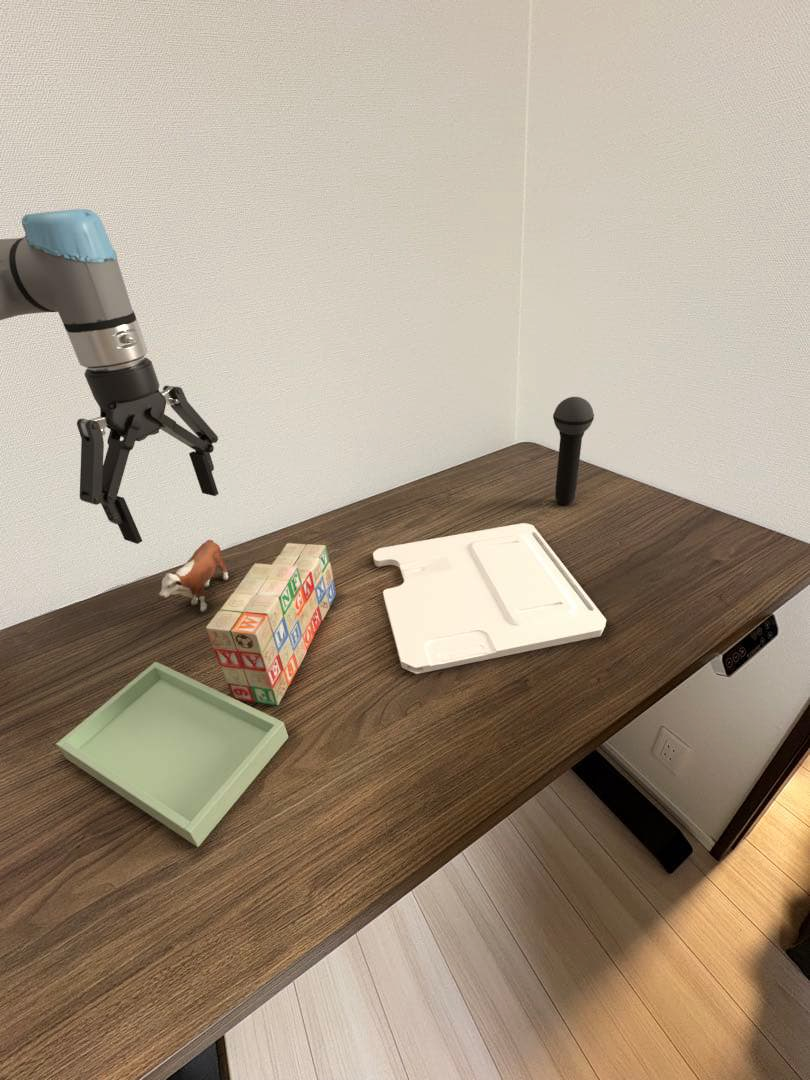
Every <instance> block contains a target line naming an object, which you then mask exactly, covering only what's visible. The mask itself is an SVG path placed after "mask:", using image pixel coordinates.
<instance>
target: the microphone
mask: <svg viewBox="0 0 810 1080" xmlns="http://www.w3.org/2000/svg"><path fill="white" fill-rule="evenodd" d="M552 419H553V423H554V425H555V428H557V430H558V432H559V445H558V456H557V457H558V459H557V468H556V479H555V491H554V493H555V495H554V498H555V499H556V502H557V503H558V504H559V506H569V505H571V503H572V502H573V501H574V500H575V498H576V492H577V485H578V484H577V483H578V475H579V466H580V459H581V450H582V448H581V447H582V444H583V443H582V441H583V437H584V435H585V432H587V430H589V428H591V426H592V423H593V422H594V419H595V414H594V409H593V407H592V405H591V403H590V402H589V401H588V400H587V399H585V398H583V397H581V396H570V397H567V398H565V399H563V400H561V401H560V402H559V403H558V404H557V406H556V407H555V410H554V412H553V414H552Z"/></svg>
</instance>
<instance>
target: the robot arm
mask: <svg viewBox="0 0 810 1080" xmlns="http://www.w3.org/2000/svg"><path fill="white" fill-rule="evenodd" d="M21 225H22V228H23V232H24V234H25V235H24V236H23V237H18V238H17V237H15V238H1V239H0V321H2V320H3V321H4V320H7V319H10V318H13V317H18V316H22V315H31V314H41V313H43V314H44V313H58V315H59V318H60V320H61V322H62V324H63V327H64V329H65V331H66V333H67V336H68V338H69V342H70V343H71V346H72V349H73V352H74V354H75V356H76V358H77V361H78V364H79V365H80V366H81V367H83V368H86V369H85V372H84V377H85V380H86V382H87V384H88V387H89V390H90V391H91V394H92V397H93V399H94V401H95V402H96V404H97V405H98V408H99V411H100V415H99V416H97V417H94V418H93V417H92V418H90V419H87V418H79V419H77V421H76V426H77V429H78V432H79V433H78V434H79V437H80V440H81V441H80V442H81V443H80V444H81V445H80V473H79V500H81V501H82V502H85V503H89V504H91V505H92V504H93V505H96V506H97V505H99V504H100V505H101V507H102V508H103V511H104V513H105V515H106V517H107V520H108V521H109V522H110V523H112V524H114V525H117V526H118V528H119V531H120V532H121V535H122V538H123V539H124V541H126V542H130V543H134V544H136V545H138V544H140V543H142V542H143V539H142V537H141V534H140V532H139V529H138V527H137V525H136V523H135V520H134V518H133V516H132V513H131V510H130V508H129V506H128V504H127V501H126V499H125V497H123V496H119V490H120V488H121V484H122V480H123V477H124V473H125V469H126V467H127V466H126V465H127V462H128V459H129V455H130V452H131V451H132V450H133V449H134V447H135V444H136V442H141V441H144V440H146V438H148V437H149V436H153V435H156V434H159V433H160V430H161V431H163V432H165V433H167V434H168V435H169V436H171V437H172V438H175V439H176V440H177V441H179V442H181V443H182V444H184V445H185V446H188V447H189V448H191V449H192V450H193V451H191V452H189V453H188V455H189V458H190V461H191V464H192V467H193V470H194V473H195V476H196V479H197V482H198V485H199V488H200V490H201V493H202V494H205V495H208V496H213V497H216V496H218V495H219V493H220V492H219V491H218V487H217V485H216V481H215V477H214V475H213V472H214V470H215V466H214V463H213V459H212V456H211V453H213V452H214V450H215V446H214V445H213V444H216V443H217V442H218V441H219V436H218V435H217V434H216V433H215V431H214V430H213V429H212V428H211V427H210V426H209V424H208V423H207V422H206V421H205V420H204V419H203V418H202V417H201V415H200V414H199V413H198V412H197V411H196V409H194V407H193V406H192V405H191V404H190V402H189V401H188V399H187V398H186V395H185V393H184V392H185V391H184V390H183V388H182V387H180V386H174V385H167V384H166V385H164V386H163V388H162V391H160V390H159V389H160V382H159V379H158V377H157V373H156V370H155V368H154V365H153V361H152V360H151V359H149V358H148V357H146V356H147V354H148V353H149V351H148V348H147V346H146V345H147V344H146V342H145V339H144V337H143V334H142V330H141V328H140V327H141V326H140V324H139V321H138V319H137V316H136V314H135V311H134V309H133V306H132V304H131V301H130V298H129V294H128V290H127V287H126V285H125V280H124V276H123V274H122V271H121V268H120V264H119V260H118V255H117V252H116V250H115V249H114V248H113V245H112V243H111V240H110V238H109V236H108V233H107V231H106V228H105V225H104V223H103V220H102V218H101V217H100V215H98V214H97V212H95V211H93V210H91V209H88V208H78V209H77V208H76V209H64V210H55V211H45V212H43V211H42V212H36V213H35V212H34V213H28V214H27V213H26V214H24V215H23V216H22V218H21ZM167 405H169V406H170V407H171V409H172V410H173V411H174V412H175V413H176V415H178V417H180V419H181V420H182V421H183V422H184V423H185V424H186V425H187V426H188V427H189V428H190V430H191V431H192V432H193V433H192V432H191V431H189V430H188V429H186V428H184V427H183V426H182V425H180V424H179V423H177V421H176V420H174V419H173V418H171V417H170V416H168V415H167V414H165V411H166V406H167ZM105 428H107V429H109V434H108V438H107V446H108V447H107V449H106V454H105V453H104V449H105V441H104V436H105V435H106V434H107V433H106V430H105ZM121 438H123V439H122V440H121ZM104 454H105V457H104Z"/></svg>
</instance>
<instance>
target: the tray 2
mask: <svg viewBox="0 0 810 1080" xmlns="http://www.w3.org/2000/svg"><path fill="white" fill-rule="evenodd" d="M372 558H373V563H374V565H375V567H377V568H380V567H385V566H395V567H397V568H398V569H399V571H400V573H401V577H402V580H403V583H401V584H400V585H398V586H394V587H390V588H385V589H384V590H383V592H382V595H383V601H384V605H385V608H386V613H387V616H388V620H389V625H390V629H391V632H392V636H393V640H394V643H395V647H396V649H397V650H396V651H397V655H398V658H399V662H400V665H401V668H402V669H404V670H406V671H408V672H411V673H412V674H415V675H420V674H424V673H429V672H433V671H438V670H443V669H449V668H453V667H457V666H463V665H467V664H472V663H476V662H477V663H478V662H482V661H486V660H493V659H497V658H501V657H506V656H511V655H516V654H521V653H525V652H530V651H536V650H541V649H546V648H550V647H555V646H560V645H564V644H569V643H575V642H579V641H583V640H584V641H585V640H589V639H593V638H599V637H601V636H602V634H603V632H604V630H605V628H606V624H607V618H606V617H605V616H604V615H603V613H602V612H601V611H600V609H599V608H598V607H597V605H596V604H595V603H594V602H593V600H592V599H591V598H590V596H589V595H588V594H587V593H586V591H585V590H584V589H583V588H582V586H581V584H579V582H578V581H577V580H576V578H575V577H574V576H573V575H572V573H571V572H570V571H569V570H568V568H567V567H566V566H565V564H564V563H563V562H562V561H561V559H560V558H559V556H558V555H557V554H556V553H555V551H554V550H553V549H552V547H551V546H550V545H549V544H548V543H547V541H546V540H545V539H544V537H543V536H542V534H541V533H540V532H539V531H538V529H537V528H536V527H535V526H534V525H533V524H530V523H527V522H520V523H516V524H515V523H514V524H509V525H504V526H498V527H493V528H486V529H481V530H475V531H470V532H464V533H457V534H453V535H446V536H441V537H435V538H430V539H429V538H428V539H423V540H417V541H412V542H406V543H401V544H395V545H390V546H383V547H379V548H377V549H376V550H375V551H374V552H372Z"/></svg>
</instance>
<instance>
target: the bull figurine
mask: <svg viewBox="0 0 810 1080" xmlns="http://www.w3.org/2000/svg"><path fill="white" fill-rule="evenodd" d="M217 567H218V568H219V569H220V570H221V572H222V580H223V581H228V579H229V572H228V571H227V569H226V562H225V561H224V560H223V553H222V550H221V547H220V545H219V544H218V543H216V542H214V540H213V539H207V540H206V541H205V542H204V543H202V544H201V545H200V546H199V547H198V548H197V549H196V550H195V551H194V552H193V554H192V556H191V557H190V558H189V559H188V560H187V561H186V562H185V563H184V564H183V565H182V566H181V567H180V568H179V569H177V570H176V571H175V573H171V572H167V571H166V572H165V573H164V574H165V575H164V577H163V578H162V581H161V589H160V592H159V593H158V594H159V596H160V597H161V598H163V599H166V598H168V597H170V595H171V596H176V595H180V596H181V597H185V598H191V602H190V603H191V606H196V605H197V604H198V600H199V601H200V608H199V611H200V612H201V613H205V612H207V610H208V604H207V603H206V602H205V599H206V595H205V588H208V587H209V586H210V582H211V578H212V577H213V576H214V575H215V572H216V568H217ZM197 594H198V597H197V596H196V595H197Z"/></svg>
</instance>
